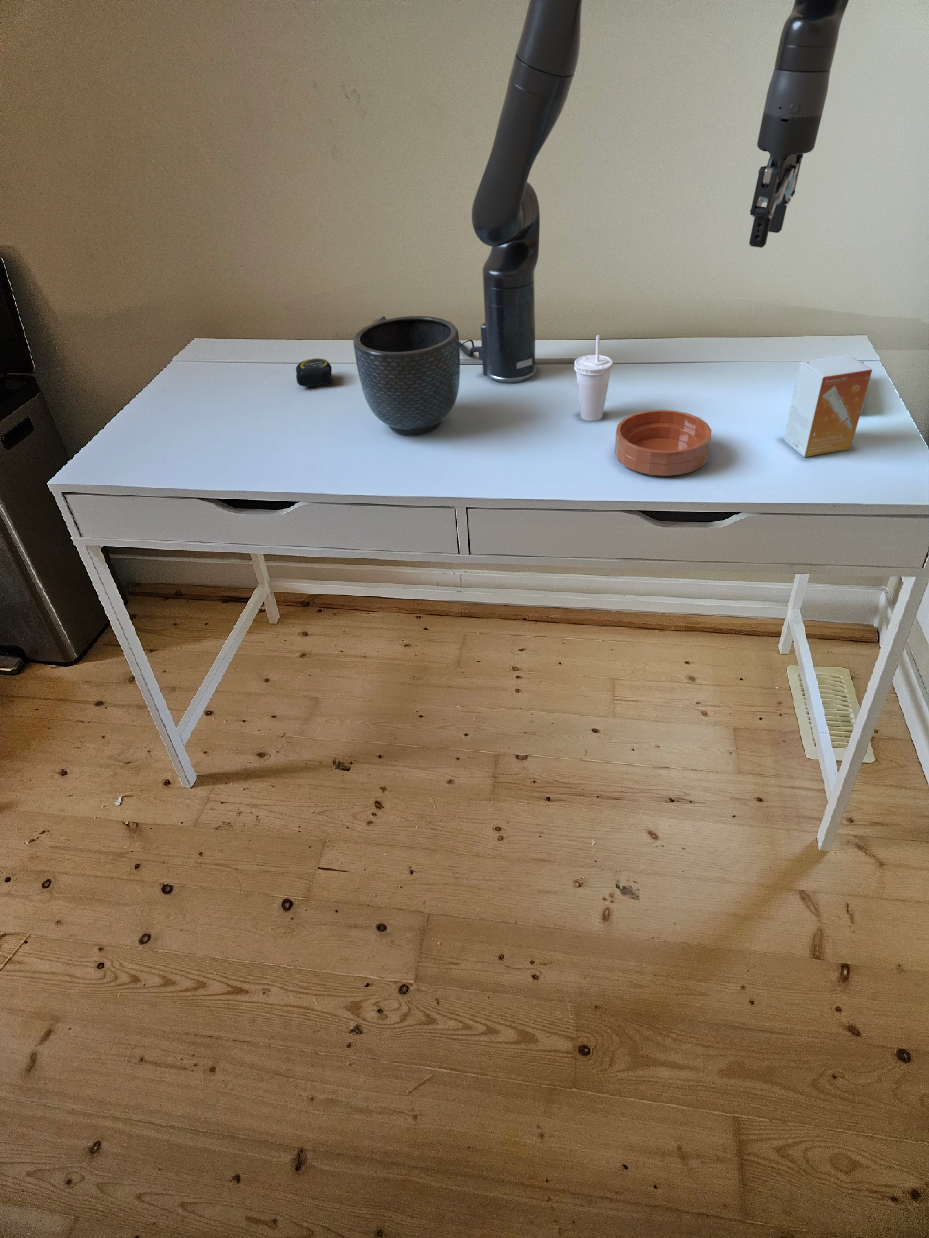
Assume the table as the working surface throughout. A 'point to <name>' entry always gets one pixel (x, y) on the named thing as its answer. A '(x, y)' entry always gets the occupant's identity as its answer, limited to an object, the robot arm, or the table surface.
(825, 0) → the robot arm
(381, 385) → the planter
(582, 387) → the smoothie
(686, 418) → the bowl
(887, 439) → the table surface
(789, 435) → the small box
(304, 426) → the table surface
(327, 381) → the tape measure
